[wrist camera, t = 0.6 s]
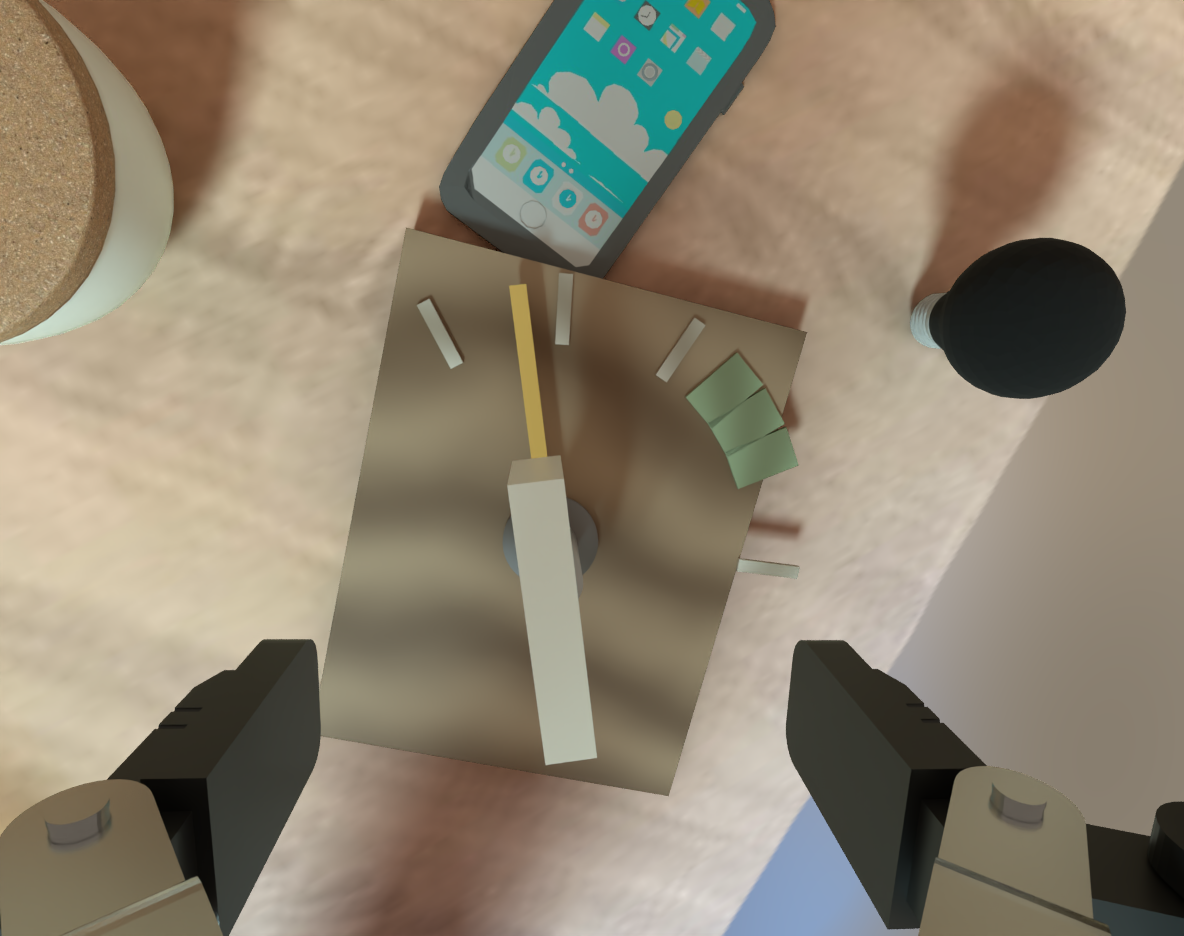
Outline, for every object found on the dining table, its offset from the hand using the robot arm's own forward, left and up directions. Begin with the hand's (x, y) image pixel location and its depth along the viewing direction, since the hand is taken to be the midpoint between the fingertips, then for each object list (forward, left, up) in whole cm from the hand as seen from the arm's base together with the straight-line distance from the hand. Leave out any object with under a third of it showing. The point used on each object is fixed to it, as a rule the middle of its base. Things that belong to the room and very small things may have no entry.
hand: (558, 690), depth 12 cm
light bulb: (+10, -16, -22) cm, 29 cm away
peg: (-1, 0, -20) cm, 20 cm away
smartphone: (+15, +1, -22) cm, 27 cm away
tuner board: (-4, -2, -22) cm, 22 cm away
